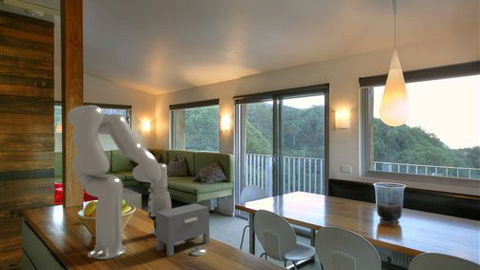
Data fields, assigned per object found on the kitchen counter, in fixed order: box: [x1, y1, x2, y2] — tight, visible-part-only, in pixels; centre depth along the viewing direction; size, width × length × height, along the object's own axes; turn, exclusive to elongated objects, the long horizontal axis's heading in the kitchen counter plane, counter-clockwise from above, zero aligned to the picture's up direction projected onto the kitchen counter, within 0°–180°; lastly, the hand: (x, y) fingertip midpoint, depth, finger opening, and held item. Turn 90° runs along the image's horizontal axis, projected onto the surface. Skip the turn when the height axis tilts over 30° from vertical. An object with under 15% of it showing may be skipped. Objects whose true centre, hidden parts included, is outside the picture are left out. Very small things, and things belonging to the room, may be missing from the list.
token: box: [190, 246, 207, 257], centre depth 120 cm, size 6×6×2 cm
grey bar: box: [149, 228, 187, 247], centre depth 137 cm, size 5×23×9 cm, turn 43°
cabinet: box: [155, 203, 210, 257], centre depth 127 cm, size 20×11×16 cm, turn 135°
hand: (159, 228), depth 142 cm, fingers closed on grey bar, 2 cm apart
